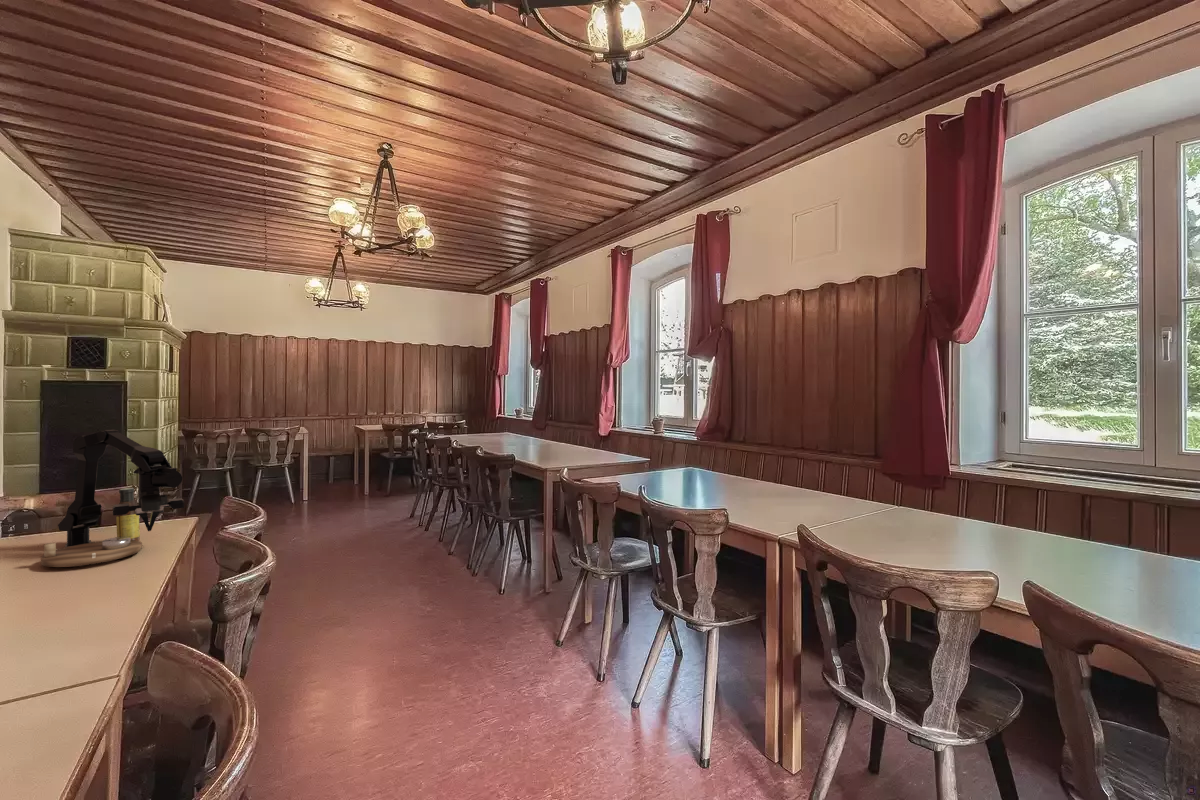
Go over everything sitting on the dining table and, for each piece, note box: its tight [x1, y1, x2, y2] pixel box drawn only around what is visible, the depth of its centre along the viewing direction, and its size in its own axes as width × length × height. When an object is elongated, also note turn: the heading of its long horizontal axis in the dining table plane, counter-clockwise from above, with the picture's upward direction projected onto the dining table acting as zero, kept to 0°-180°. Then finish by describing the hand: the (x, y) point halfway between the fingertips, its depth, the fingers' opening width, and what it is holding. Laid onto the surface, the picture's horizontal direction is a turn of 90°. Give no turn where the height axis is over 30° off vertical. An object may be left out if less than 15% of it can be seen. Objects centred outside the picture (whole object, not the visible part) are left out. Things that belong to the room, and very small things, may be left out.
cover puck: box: [102, 536, 130, 550], centre depth 176 cm, size 7×7×2 cm
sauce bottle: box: [115, 487, 141, 541], centre depth 191 cm, size 7×6×20 cm
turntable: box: [40, 540, 143, 568], centre depth 172 cm, size 24×24×6 cm
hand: (149, 530), depth 182 cm, fingers closed
